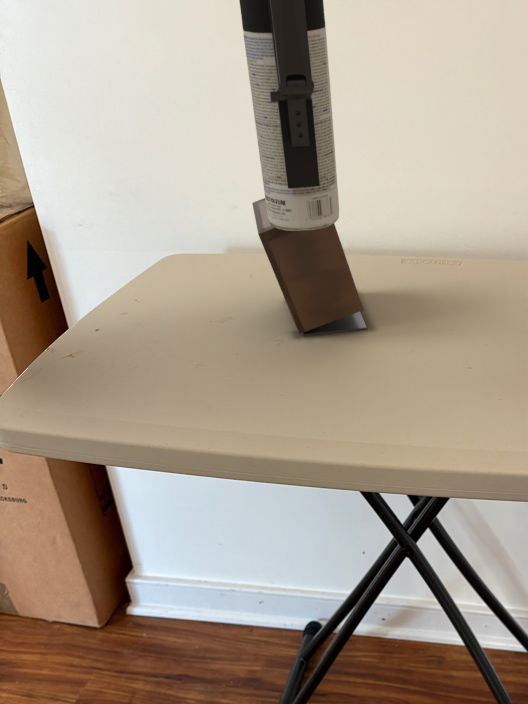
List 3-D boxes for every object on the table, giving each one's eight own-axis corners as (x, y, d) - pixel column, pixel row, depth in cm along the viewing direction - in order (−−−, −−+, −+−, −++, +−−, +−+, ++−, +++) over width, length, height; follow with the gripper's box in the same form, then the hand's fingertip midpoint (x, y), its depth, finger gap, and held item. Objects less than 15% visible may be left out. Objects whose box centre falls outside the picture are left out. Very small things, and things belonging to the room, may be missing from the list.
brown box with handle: (348, 274, 97) (287, 96, 83) (363, 310, 88) (298, 116, 74) (289, 296, 97) (219, 122, 83) (299, 334, 88) (221, 145, 74)
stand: (352, 298, 99) (351, 290, 98) (367, 335, 90) (367, 327, 89) (293, 304, 98) (293, 296, 97) (303, 342, 89) (302, 334, 88)
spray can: (345, 210, 73) (325, -55, 60) (335, 233, 67) (311, -52, 55) (276, 211, 73) (243, -52, 60) (261, 233, 68) (221, -50, 55)
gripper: (333, -196, 46) (357, 201, 61) (301, -166, 61) (327, 148, 76) (208, -195, 45) (264, 210, 60) (207, -164, 60) (252, 153, 75)
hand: (299, 175), depth 68 cm, fingers closed on spray can, 7 cm apart
